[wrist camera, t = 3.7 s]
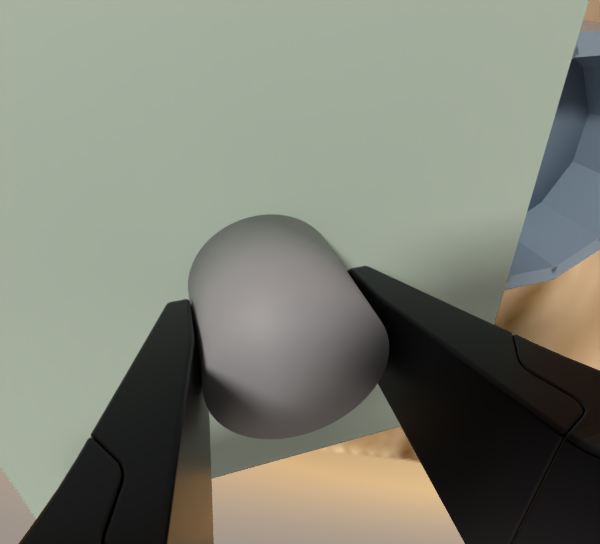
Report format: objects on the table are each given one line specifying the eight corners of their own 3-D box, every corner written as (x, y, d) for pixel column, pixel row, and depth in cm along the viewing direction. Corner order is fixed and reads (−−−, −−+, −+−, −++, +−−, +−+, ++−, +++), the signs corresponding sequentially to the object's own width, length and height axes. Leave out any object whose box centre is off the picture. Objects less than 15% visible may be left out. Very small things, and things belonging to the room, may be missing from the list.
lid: (582, -102, 8) (823, -140, 5) (456, 389, 15) (528, 484, 13) (-333, -111, 5) (-901, -205, 2) (46, 497, 13) (17, 653, 10)
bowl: (617, 11, 21) (728, 21, 17) (548, 222, 27) (618, 265, 23) (402, 24, 18) (473, 39, 15) (380, 252, 25) (426, 306, 21)
